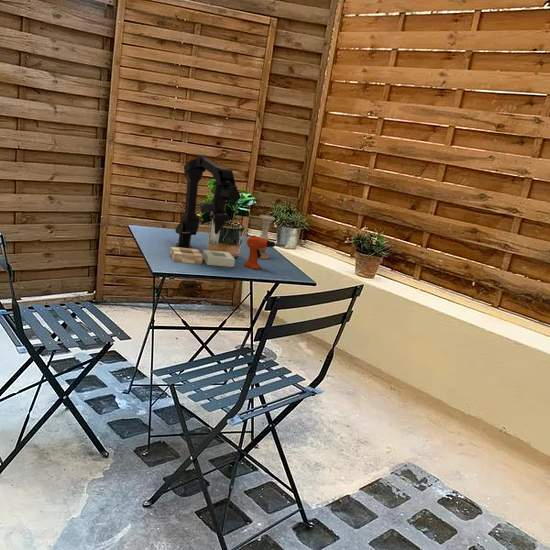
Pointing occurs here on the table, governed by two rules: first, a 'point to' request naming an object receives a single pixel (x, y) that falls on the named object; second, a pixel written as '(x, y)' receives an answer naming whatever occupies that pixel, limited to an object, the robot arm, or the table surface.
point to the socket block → (186, 255)
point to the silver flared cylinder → (213, 235)
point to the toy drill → (254, 245)
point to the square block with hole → (218, 258)
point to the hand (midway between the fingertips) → (215, 232)
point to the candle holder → (265, 234)
